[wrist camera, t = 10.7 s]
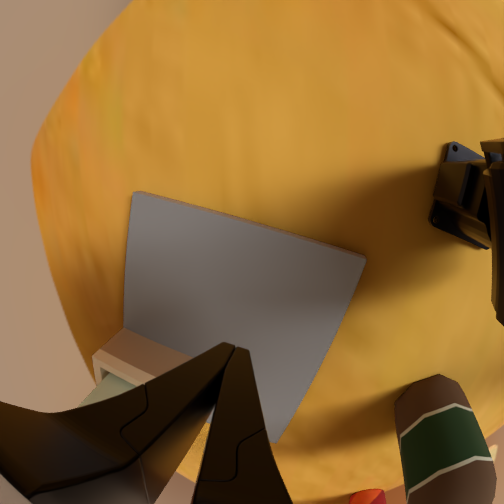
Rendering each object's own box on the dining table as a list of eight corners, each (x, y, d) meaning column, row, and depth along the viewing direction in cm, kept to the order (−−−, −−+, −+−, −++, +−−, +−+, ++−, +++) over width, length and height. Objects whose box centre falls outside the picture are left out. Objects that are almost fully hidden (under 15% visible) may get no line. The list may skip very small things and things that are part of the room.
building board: (364, 255, 19) (383, 290, 14) (277, 437, 27) (268, 481, 21) (140, 190, 22) (88, 201, 16) (130, 381, 29) (102, 414, 23)
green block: (163, 392, 21) (129, 441, 15) (162, 423, 22) (134, 467, 17) (114, 367, 21) (75, 409, 16) (117, 401, 23) (86, 440, 17)
